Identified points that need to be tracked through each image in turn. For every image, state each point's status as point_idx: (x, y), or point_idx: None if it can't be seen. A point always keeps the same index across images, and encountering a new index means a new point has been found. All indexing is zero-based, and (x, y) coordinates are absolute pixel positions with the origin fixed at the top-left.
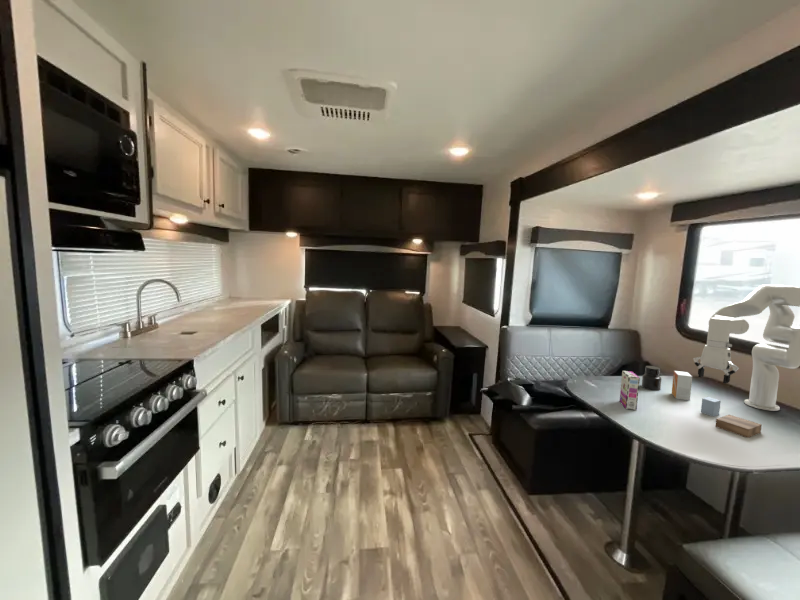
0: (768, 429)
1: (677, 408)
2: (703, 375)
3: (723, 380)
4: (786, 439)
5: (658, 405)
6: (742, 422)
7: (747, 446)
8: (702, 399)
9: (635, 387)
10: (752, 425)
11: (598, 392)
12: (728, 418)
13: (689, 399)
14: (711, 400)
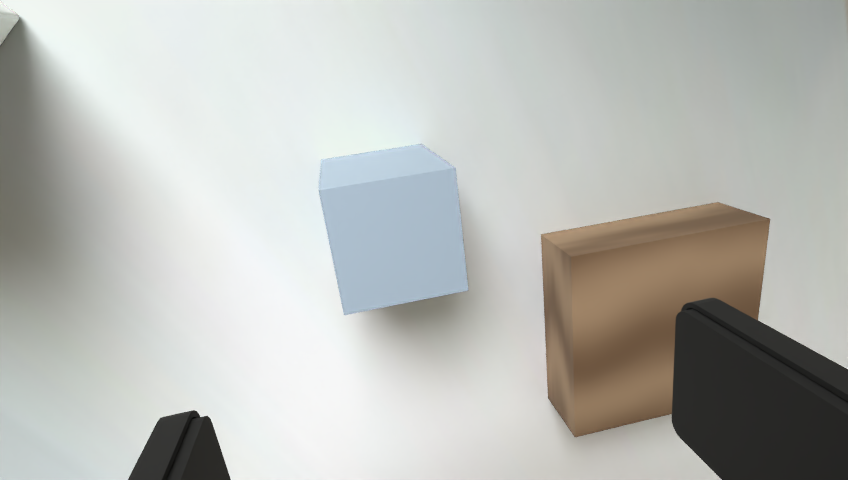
0: (727, 73)
1: (220, 368)
2: (201, 434)
3: (713, 466)
4: (829, 149)
5: (128, 464)
6: None
7: None
8: (346, 308)
9: None
10: (741, 305)
11: None
12: (609, 348)
13: (11, 20)
14: (422, 278)
